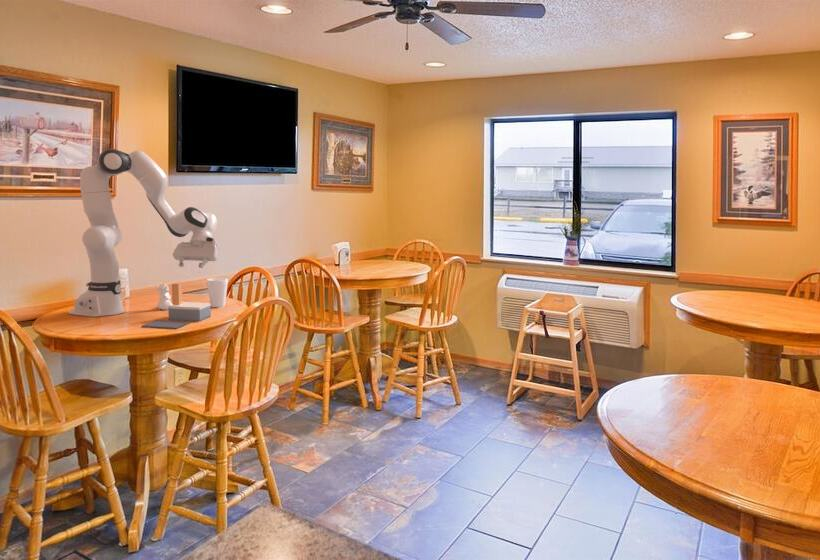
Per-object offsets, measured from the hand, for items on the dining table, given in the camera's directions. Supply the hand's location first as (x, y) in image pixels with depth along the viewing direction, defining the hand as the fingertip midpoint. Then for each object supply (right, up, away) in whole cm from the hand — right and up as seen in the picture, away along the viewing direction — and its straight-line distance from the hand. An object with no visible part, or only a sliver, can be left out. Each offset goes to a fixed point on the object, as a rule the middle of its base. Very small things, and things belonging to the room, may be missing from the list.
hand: (190, 266), depth 267 cm
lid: (+3, -18, -10) cm, 21 cm away
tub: (+3, -22, -10) cm, 25 cm away
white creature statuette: (-14, -19, +9) cm, 26 cm away
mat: (-2, -24, -23) cm, 34 cm away
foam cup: (+7, -19, +17) cm, 26 cm away
